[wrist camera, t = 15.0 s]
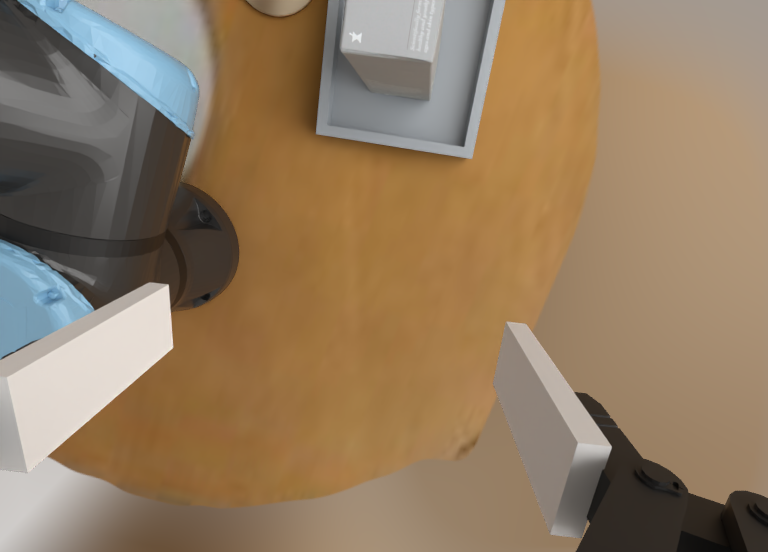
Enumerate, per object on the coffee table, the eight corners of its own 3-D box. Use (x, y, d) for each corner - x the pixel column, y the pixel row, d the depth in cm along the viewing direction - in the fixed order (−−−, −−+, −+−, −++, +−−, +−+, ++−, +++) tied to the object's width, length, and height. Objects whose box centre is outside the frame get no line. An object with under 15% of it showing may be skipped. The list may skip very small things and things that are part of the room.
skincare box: (430, 102, 41) (444, 73, 26) (361, 91, 41) (334, 57, 26) (446, 7, 38) (472, -86, 23) (372, -4, 38) (350, -105, 23)
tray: (321, 135, 43) (315, 133, 40) (341, -64, 38) (336, -82, 35) (467, 158, 43) (471, 158, 40) (508, -38, 38) (516, -54, 35)
